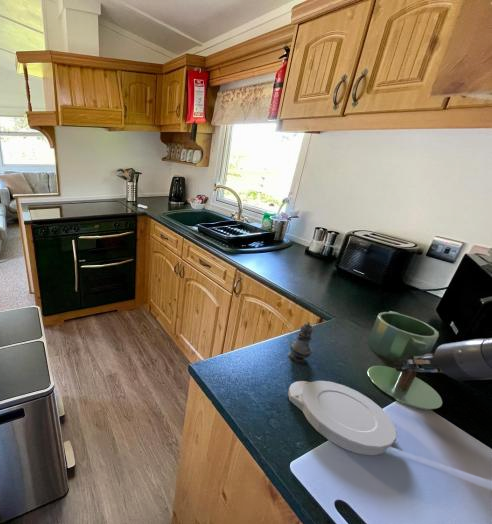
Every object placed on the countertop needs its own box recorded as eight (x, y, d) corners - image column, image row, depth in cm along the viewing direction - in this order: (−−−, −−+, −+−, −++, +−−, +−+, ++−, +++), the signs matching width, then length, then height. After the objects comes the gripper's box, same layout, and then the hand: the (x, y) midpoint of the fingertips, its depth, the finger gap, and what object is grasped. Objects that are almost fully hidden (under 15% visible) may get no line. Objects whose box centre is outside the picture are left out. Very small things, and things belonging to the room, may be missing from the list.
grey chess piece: (283, 357, 83) (293, 321, 79) (290, 348, 87) (301, 314, 83) (305, 367, 79) (317, 330, 75) (312, 358, 83) (323, 322, 79)
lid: (303, 373, 77) (305, 364, 76) (398, 425, 63) (403, 415, 62) (273, 406, 66) (276, 396, 65) (381, 477, 52) (387, 465, 51)
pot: (408, 343, 94) (421, 315, 91) (437, 380, 78) (455, 348, 74) (359, 331, 99) (369, 304, 95) (377, 365, 82) (390, 333, 79)
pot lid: (423, 379, 78) (437, 351, 75) (454, 421, 65) (472, 389, 62) (360, 362, 83) (370, 336, 80) (376, 398, 70) (390, 368, 67)
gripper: (448, 377, 57) (379, 381, 73) (517, 381, 57) (434, 384, 73) (433, 338, 60) (371, 350, 76) (500, 343, 60) (423, 353, 76)
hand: (402, 367), depth 74 cm, fingers closed on pot lid, 2 cm apart
